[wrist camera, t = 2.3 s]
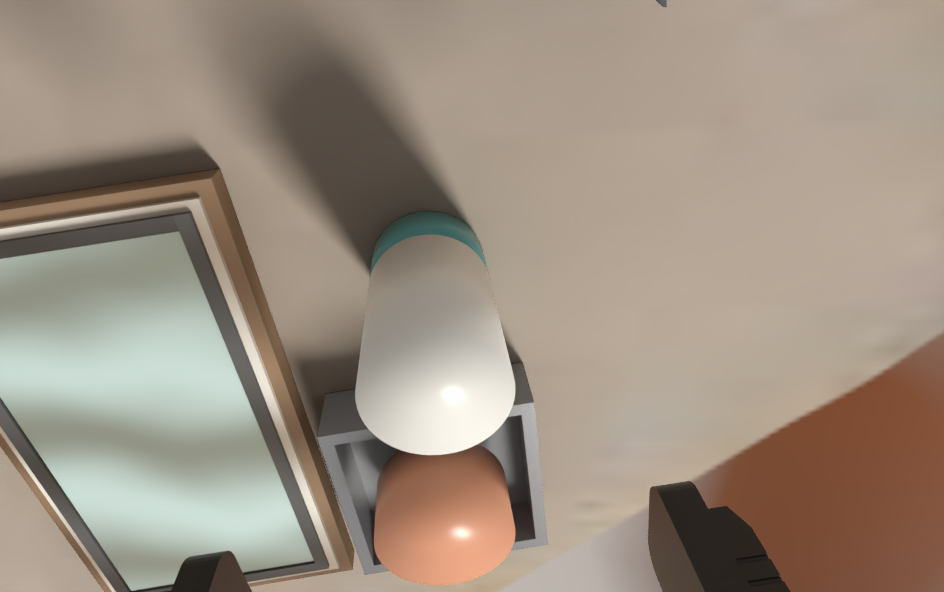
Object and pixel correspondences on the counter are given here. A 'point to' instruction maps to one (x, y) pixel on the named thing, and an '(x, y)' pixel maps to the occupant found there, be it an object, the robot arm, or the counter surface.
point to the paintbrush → (662, 2)
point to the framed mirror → (156, 388)
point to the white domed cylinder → (432, 340)
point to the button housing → (364, 455)
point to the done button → (443, 516)
